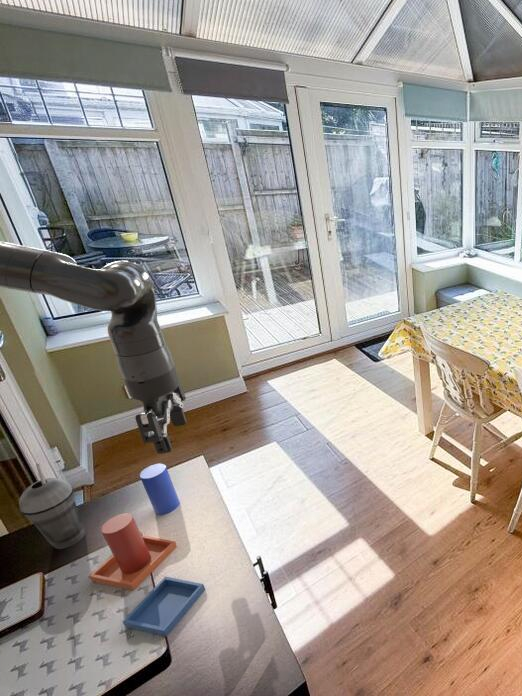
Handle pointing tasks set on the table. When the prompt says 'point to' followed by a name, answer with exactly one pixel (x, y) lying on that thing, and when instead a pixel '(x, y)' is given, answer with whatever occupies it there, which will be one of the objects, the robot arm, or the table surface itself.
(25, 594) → the table surface
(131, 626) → the blue tray
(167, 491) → the blue canister
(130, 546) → the red canister
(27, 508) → the beverage cup
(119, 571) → the terracotta tray
